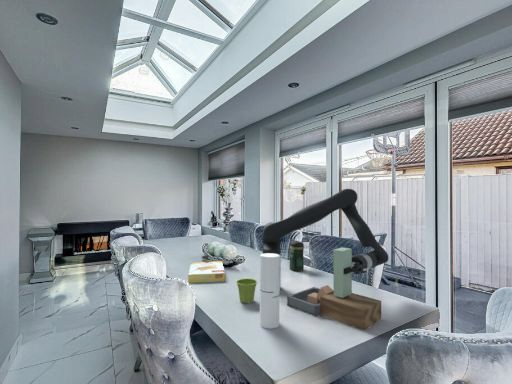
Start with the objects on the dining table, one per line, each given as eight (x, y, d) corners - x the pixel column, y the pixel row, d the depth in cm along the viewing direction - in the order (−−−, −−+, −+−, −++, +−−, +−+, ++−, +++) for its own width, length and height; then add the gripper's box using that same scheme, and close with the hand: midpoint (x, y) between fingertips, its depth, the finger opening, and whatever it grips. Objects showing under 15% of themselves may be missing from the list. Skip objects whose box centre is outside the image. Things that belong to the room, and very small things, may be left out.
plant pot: (241, 306, 118) (241, 285, 119) (232, 299, 127) (233, 280, 127) (260, 302, 123) (261, 283, 123) (251, 296, 131) (251, 277, 131)
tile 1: (307, 295, 120) (307, 303, 120) (317, 298, 117) (317, 306, 117) (314, 292, 124) (314, 300, 124) (324, 295, 120) (324, 303, 120)
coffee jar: (305, 271, 177) (305, 241, 177) (294, 272, 174) (294, 242, 175) (298, 267, 186) (299, 239, 186) (287, 268, 184) (288, 240, 184)
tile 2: (327, 293, 114) (320, 287, 116) (322, 302, 115) (316, 296, 117) (333, 290, 117) (327, 285, 119) (329, 299, 118) (322, 294, 121)
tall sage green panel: (342, 297, 108) (342, 251, 108) (333, 295, 111) (333, 249, 111) (351, 293, 113) (351, 248, 113) (342, 291, 115) (342, 247, 116)
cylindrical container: (258, 320, 105) (259, 253, 106) (277, 319, 106) (278, 253, 106) (260, 328, 98) (261, 257, 99) (280, 328, 99) (281, 257, 99)
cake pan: (202, 268, 182) (202, 261, 182) (199, 260, 206) (199, 254, 206) (239, 266, 189) (239, 259, 189) (231, 258, 213) (231, 252, 213)
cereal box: (222, 260, 182) (225, 271, 154) (222, 269, 181) (226, 281, 154) (190, 262, 178) (188, 273, 150) (190, 271, 178) (188, 284, 150)
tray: (316, 316, 109) (316, 306, 109) (287, 305, 120) (287, 296, 120) (342, 304, 122) (342, 295, 122) (313, 295, 133) (313, 286, 133)
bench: (364, 331, 97) (364, 310, 97) (320, 314, 110) (320, 296, 111) (381, 319, 107) (381, 300, 107) (339, 305, 120) (339, 289, 120)
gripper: (344, 252, 127) (323, 258, 115) (376, 257, 116) (356, 264, 105) (344, 268, 127) (323, 276, 115) (376, 275, 116) (356, 284, 105)
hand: (339, 270), depth 110 cm, fingers closed on tall sage green panel, 4 cm apart
